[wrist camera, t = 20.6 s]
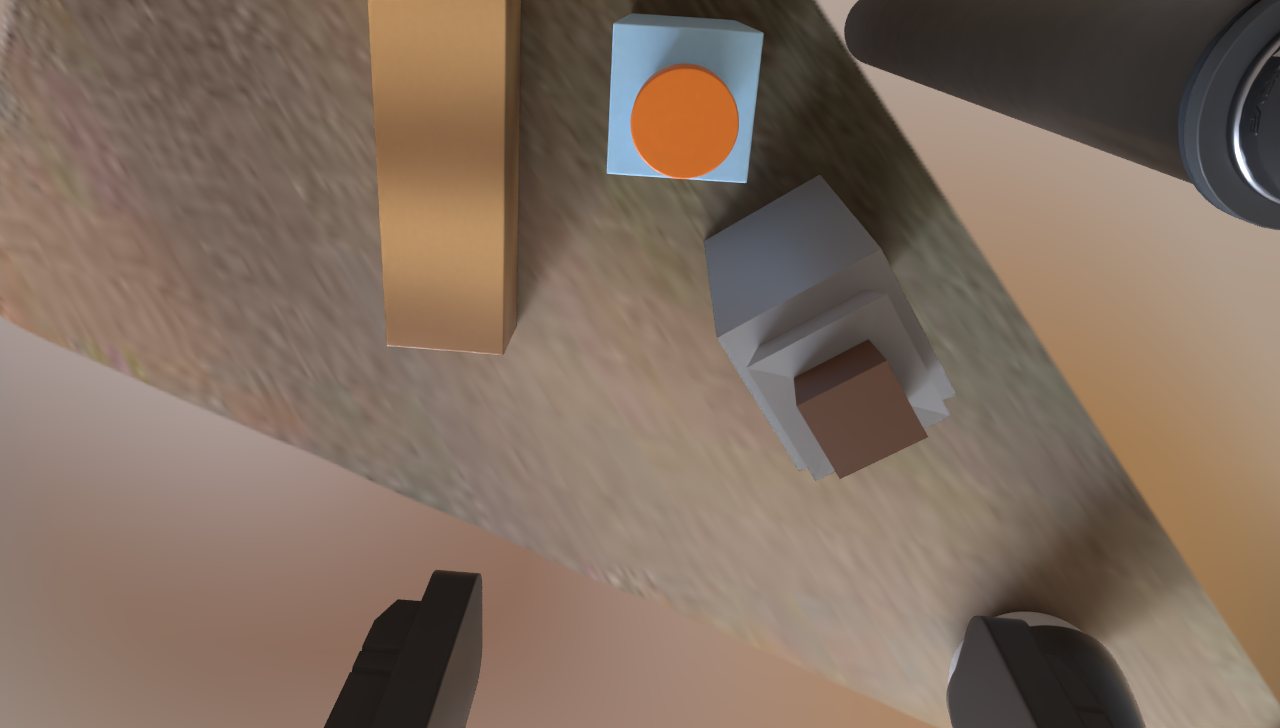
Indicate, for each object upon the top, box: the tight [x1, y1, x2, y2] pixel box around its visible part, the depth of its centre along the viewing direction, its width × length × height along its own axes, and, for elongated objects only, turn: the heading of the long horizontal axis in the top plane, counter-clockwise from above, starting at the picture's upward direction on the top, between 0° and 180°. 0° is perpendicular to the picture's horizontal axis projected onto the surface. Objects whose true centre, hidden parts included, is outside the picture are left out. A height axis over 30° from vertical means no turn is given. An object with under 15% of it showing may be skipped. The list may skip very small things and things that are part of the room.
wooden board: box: [368, 0, 521, 355], centre depth 40 cm, size 22×6×4 cm, turn 176°
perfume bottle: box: [704, 174, 956, 481], centre depth 36 cm, size 7×7×18 cm
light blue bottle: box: [607, 13, 764, 183], centre depth 33 cm, size 18×5×5 cm
